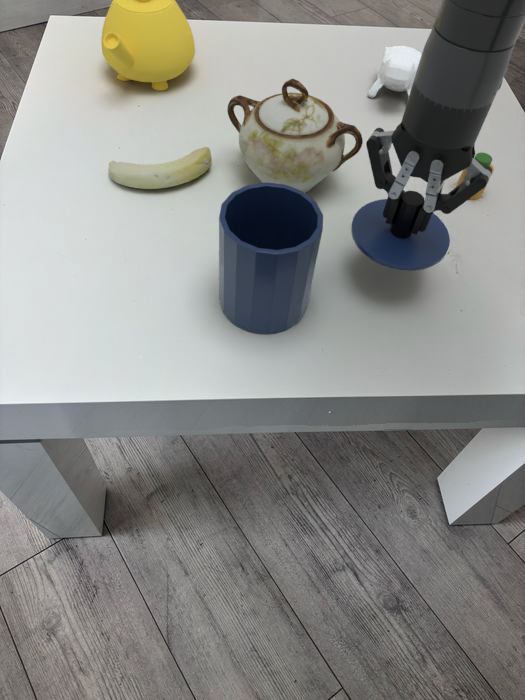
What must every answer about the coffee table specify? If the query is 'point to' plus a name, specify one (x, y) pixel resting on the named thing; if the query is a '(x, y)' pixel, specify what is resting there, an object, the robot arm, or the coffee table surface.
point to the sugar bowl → (292, 137)
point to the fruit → (161, 171)
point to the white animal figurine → (397, 69)
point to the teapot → (147, 41)
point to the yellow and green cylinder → (483, 160)
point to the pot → (267, 256)
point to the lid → (400, 235)
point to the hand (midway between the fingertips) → (403, 224)
